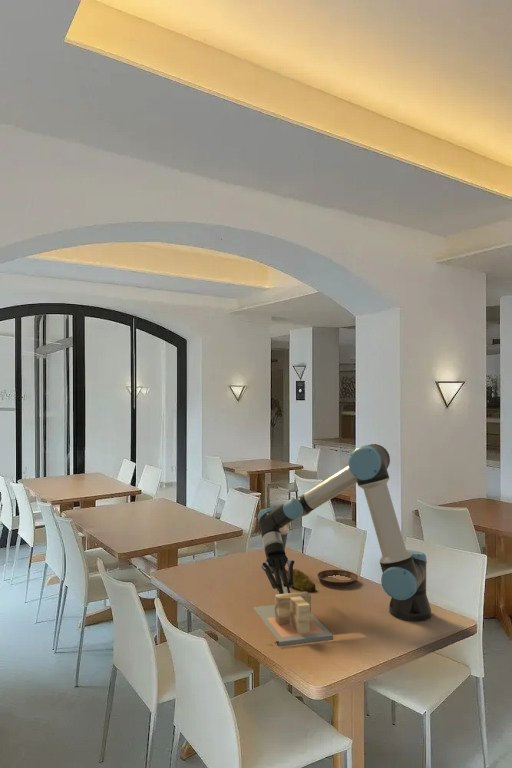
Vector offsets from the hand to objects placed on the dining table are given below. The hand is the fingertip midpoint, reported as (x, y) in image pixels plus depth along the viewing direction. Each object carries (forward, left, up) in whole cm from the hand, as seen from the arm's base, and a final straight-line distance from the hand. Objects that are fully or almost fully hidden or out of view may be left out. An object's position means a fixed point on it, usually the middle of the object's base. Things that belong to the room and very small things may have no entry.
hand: (287, 606), depth 191 cm
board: (-2, +1, -6) cm, 6 cm away
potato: (+18, -27, -6) cm, 33 cm away
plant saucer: (+15, -48, -6) cm, 51 cm away
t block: (-7, +3, -4) cm, 8 cm away
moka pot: (+44, -39, -6) cm, 59 cm away
